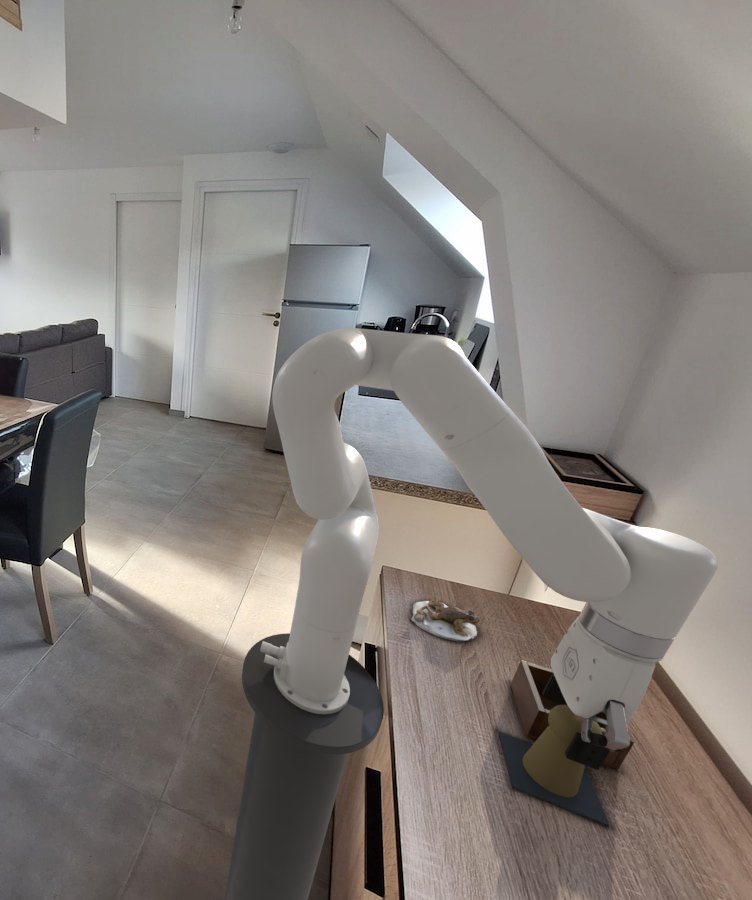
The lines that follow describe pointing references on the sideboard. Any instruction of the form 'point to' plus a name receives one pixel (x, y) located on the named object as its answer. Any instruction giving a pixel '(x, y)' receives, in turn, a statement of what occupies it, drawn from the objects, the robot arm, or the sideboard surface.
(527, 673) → the open wooden box
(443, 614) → the frog figurine
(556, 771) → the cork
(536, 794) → the mat
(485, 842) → the sideboard surface
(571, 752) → the robot arm
